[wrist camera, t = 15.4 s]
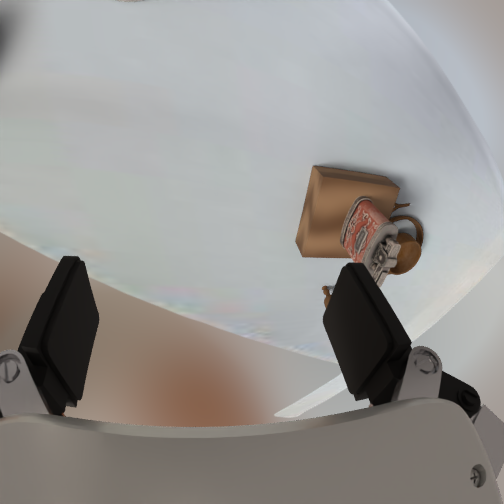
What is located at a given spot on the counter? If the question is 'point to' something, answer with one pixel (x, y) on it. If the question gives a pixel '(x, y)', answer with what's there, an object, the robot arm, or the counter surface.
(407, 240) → the place setting
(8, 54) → the counter surface
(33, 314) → the robot arm
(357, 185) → the walnut base
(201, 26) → the counter surface
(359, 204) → the lighter
